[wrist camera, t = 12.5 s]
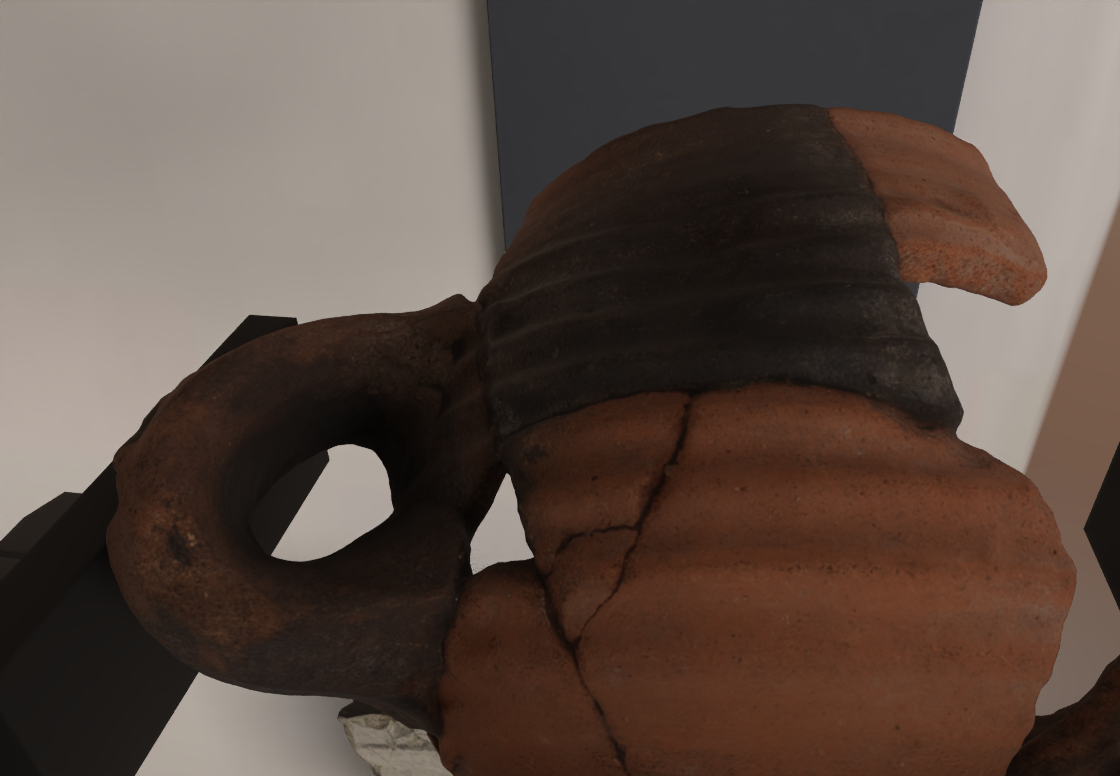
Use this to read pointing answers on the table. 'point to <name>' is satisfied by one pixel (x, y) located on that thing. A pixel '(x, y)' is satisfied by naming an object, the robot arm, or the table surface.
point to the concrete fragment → (389, 743)
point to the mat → (706, 69)
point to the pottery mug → (652, 481)
